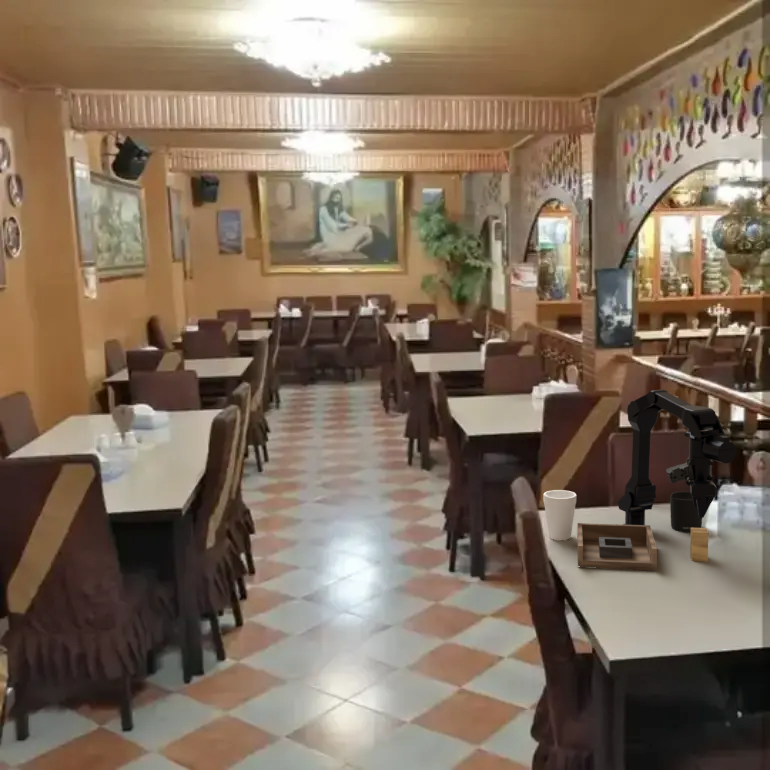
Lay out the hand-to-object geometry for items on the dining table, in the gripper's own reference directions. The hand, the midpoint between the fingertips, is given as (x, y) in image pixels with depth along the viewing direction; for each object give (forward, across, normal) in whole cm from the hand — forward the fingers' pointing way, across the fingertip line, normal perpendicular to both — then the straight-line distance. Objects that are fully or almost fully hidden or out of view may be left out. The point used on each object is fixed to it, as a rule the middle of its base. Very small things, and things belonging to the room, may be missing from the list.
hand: (698, 512), depth 237 cm
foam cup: (+13, -14, -37) cm, 41 cm away
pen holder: (+13, -27, 0) cm, 30 cm away
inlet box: (+13, +1, -22) cm, 25 cm away
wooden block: (+13, 0, 0) cm, 13 cm away
